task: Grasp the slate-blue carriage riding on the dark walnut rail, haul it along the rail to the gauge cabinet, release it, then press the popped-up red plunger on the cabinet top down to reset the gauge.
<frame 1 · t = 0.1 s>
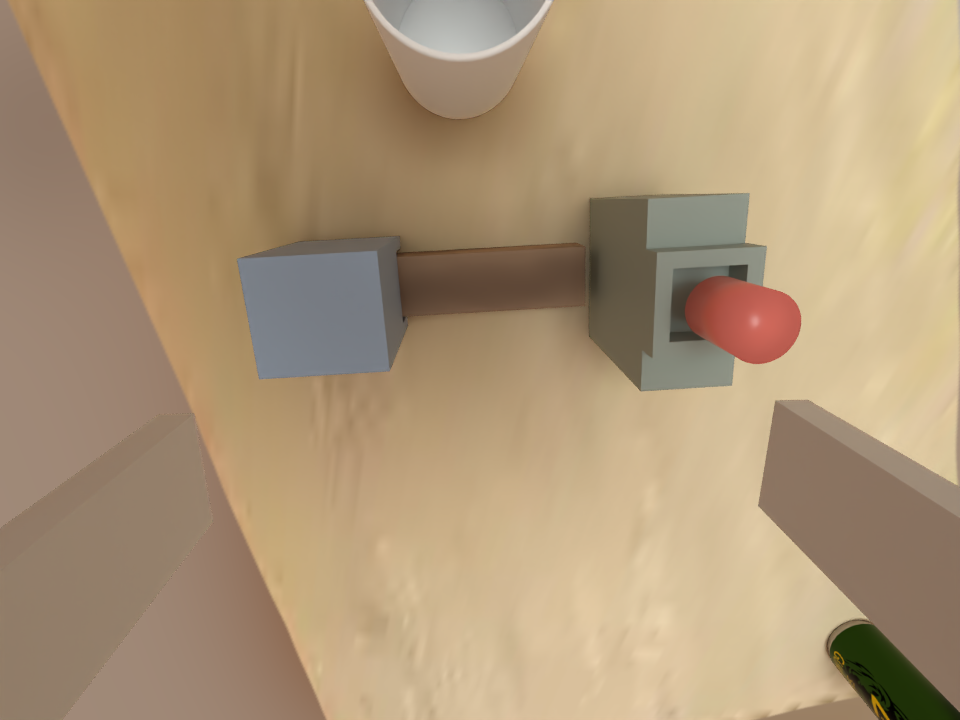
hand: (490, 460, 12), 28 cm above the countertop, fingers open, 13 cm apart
cabinet: (623, 268, 39), on the countertop
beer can: (850, 638, 50), on the countertop
carriage: (338, 298, 33), point 6 cm above the countertop, slide at 0.0 cm
rail: (432, 279, 39), on the countertop
plunger: (738, 316, 23), point 17 cm above the countertop, slide at 0.0 cm
cup: (458, 51, 35), on the countertop
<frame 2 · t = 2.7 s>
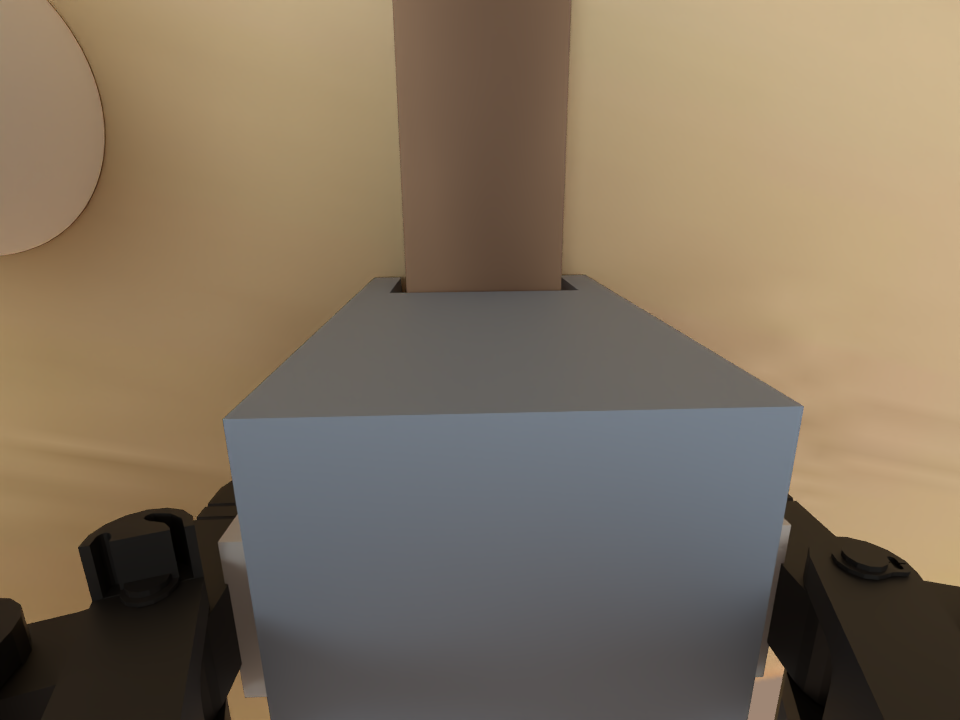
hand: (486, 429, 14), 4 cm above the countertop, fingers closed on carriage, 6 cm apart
carriage: (490, 464, 12), point 6 cm above the countertop, slide at 0.0 cm, touching gripper
rail: (479, 207, 16), on the countertop
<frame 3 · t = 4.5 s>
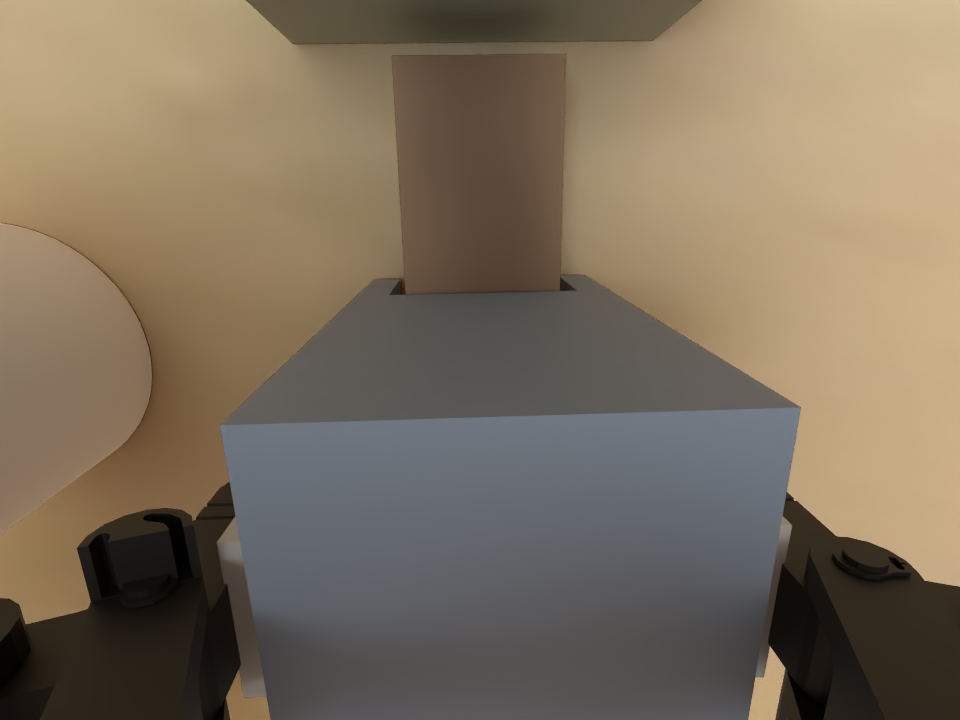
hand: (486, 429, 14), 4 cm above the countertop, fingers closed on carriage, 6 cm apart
carriage: (490, 466, 12), point 6 cm above the countertop, slide at 7.1 cm, touching gripper
rail: (481, 424, 18), on the countertop
cup: (23, 353, 17), on the countertop
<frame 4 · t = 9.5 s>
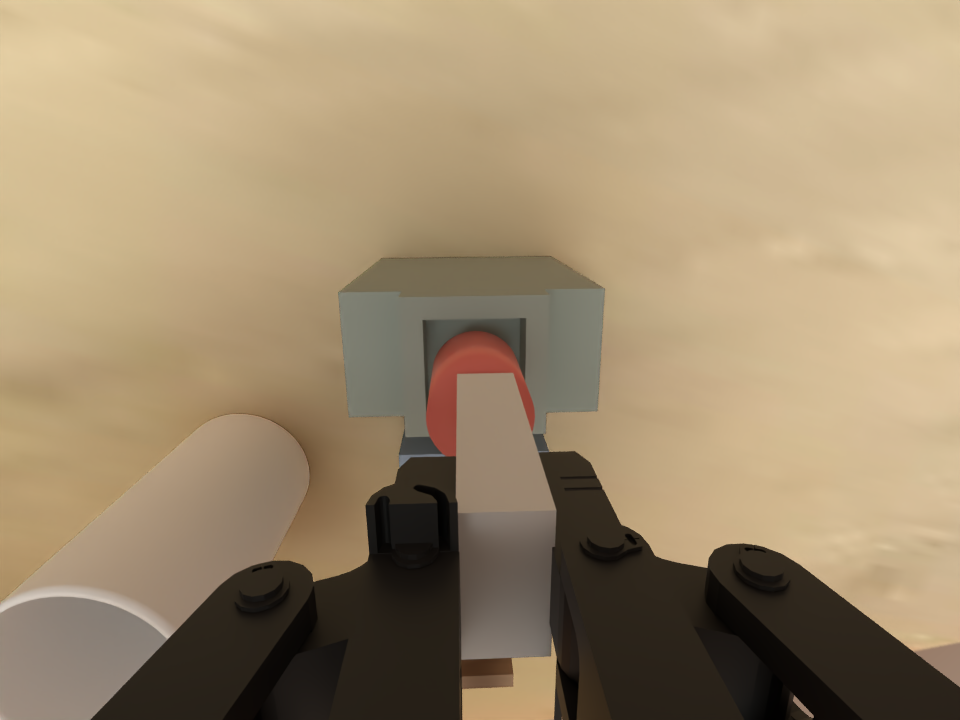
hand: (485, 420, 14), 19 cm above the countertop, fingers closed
cabinet: (467, 299, 32), on the countertop
carriage: (471, 466, 29), point 6 cm above the countertop, slide at 11.4 cm
rail: (470, 503, 36), on the countertop
plunger: (477, 393, 17), point 16 cm above the countertop, slide at 0.4 cm, touching gripper
cup: (247, 470, 35), on the countertop
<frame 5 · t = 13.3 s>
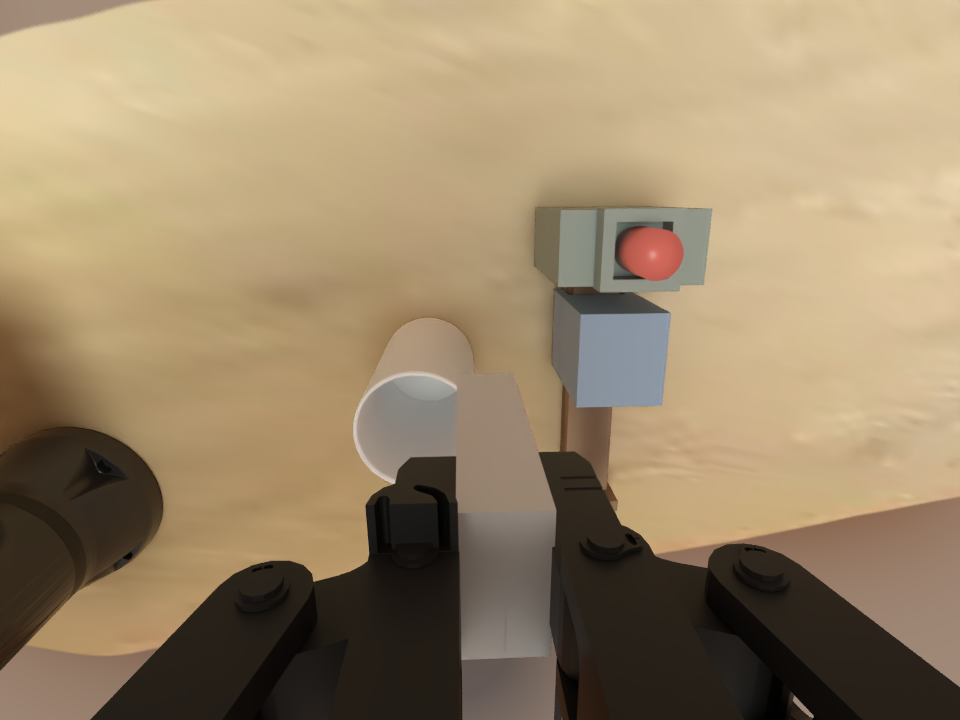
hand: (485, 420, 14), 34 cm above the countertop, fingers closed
cabinet: (591, 236, 47), on the countertop
carriage: (603, 342, 44), point 6 cm above the countertop, slide at 11.4 cm
rail: (583, 386, 51), on the countertop
plunger: (646, 252, 33), point 15 cm above the countertop, slide at 2.2 cm
cup: (429, 360, 50), on the countertop
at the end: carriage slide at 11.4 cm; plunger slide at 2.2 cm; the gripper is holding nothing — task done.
